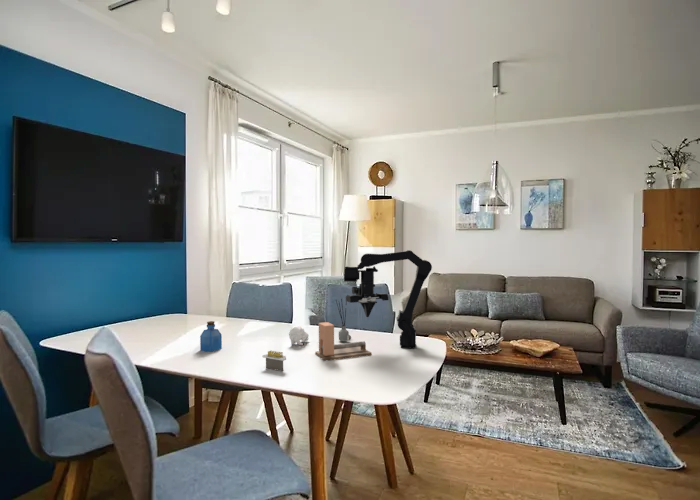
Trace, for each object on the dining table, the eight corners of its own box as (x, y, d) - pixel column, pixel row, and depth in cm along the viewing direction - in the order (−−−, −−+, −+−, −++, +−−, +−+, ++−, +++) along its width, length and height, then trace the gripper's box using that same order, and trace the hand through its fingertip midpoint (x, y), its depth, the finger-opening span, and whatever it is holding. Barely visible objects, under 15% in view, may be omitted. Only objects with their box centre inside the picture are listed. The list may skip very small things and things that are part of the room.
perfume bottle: (200, 350, 181) (200, 322, 181) (211, 347, 187) (210, 320, 187) (210, 352, 179) (210, 323, 178) (221, 348, 184) (221, 321, 184)
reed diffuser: (344, 344, 192) (344, 300, 191) (330, 342, 195) (330, 299, 194) (353, 339, 201) (353, 297, 200) (340, 337, 204) (340, 296, 203)
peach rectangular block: (327, 350, 175) (327, 322, 175) (334, 354, 168) (334, 325, 168) (318, 351, 173) (318, 322, 173) (324, 355, 167) (324, 326, 167)
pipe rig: (360, 348, 183) (360, 337, 183) (371, 355, 173) (371, 343, 173) (315, 353, 175) (315, 342, 175) (324, 360, 165) (324, 348, 165)
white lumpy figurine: (288, 326, 189) (301, 323, 200) (287, 345, 189) (300, 341, 200) (300, 327, 187) (312, 324, 198) (299, 346, 186) (312, 343, 197)
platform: (267, 362, 165) (267, 345, 164) (305, 369, 156) (305, 351, 156) (246, 370, 154) (245, 352, 154) (285, 378, 145) (285, 359, 145)
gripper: (377, 279, 198) (377, 312, 199) (340, 281, 191) (341, 315, 191) (389, 281, 188) (389, 316, 188) (350, 283, 180) (351, 319, 181)
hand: (367, 316), depth 187 cm, fingers closed
